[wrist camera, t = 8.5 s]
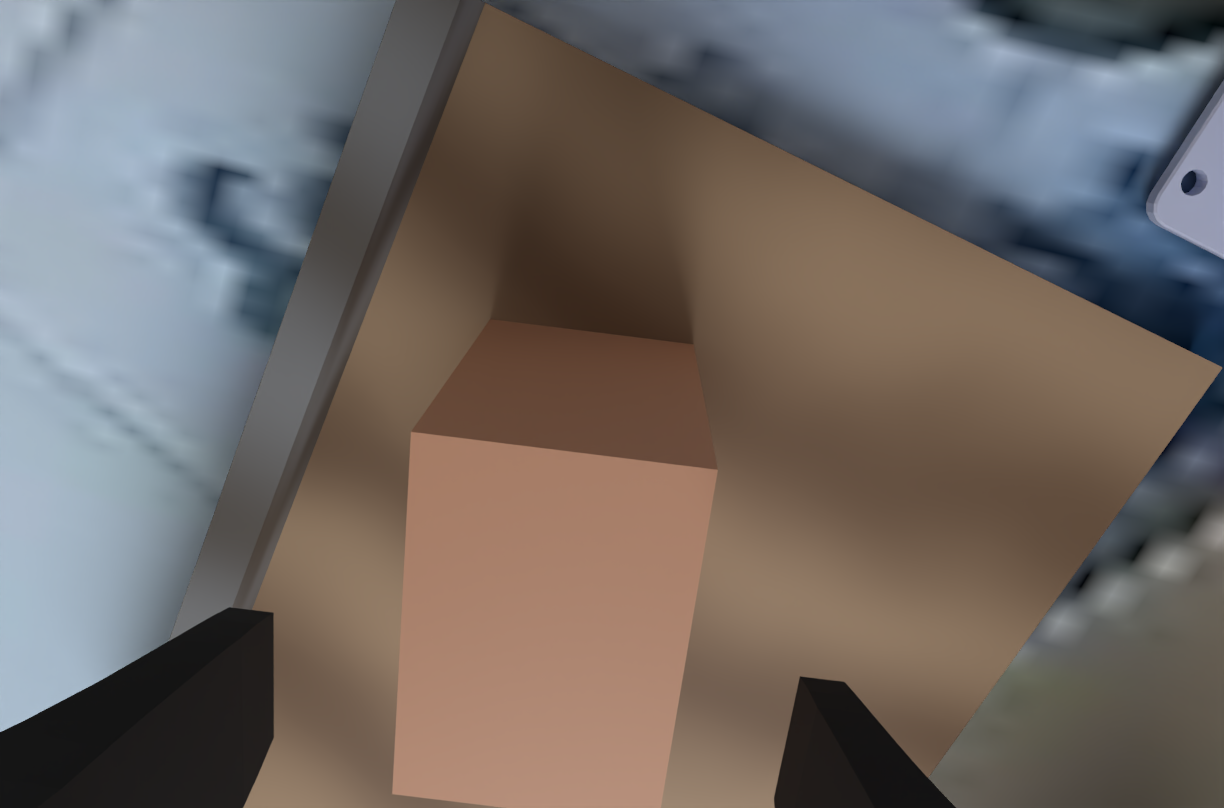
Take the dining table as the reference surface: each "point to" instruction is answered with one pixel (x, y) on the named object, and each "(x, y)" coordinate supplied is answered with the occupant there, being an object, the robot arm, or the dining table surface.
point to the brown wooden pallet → (733, 393)
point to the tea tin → (551, 570)
